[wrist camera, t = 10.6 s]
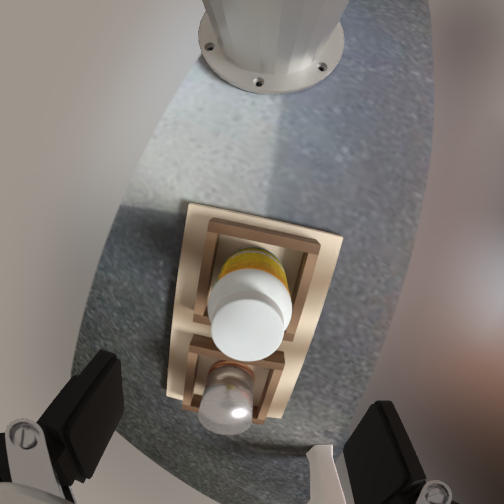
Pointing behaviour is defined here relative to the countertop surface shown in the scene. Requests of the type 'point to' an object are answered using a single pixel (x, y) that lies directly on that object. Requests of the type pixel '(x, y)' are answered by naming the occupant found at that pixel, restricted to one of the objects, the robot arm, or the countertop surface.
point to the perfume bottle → (324, 476)
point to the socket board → (203, 279)
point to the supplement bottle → (250, 305)
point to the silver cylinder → (227, 398)
